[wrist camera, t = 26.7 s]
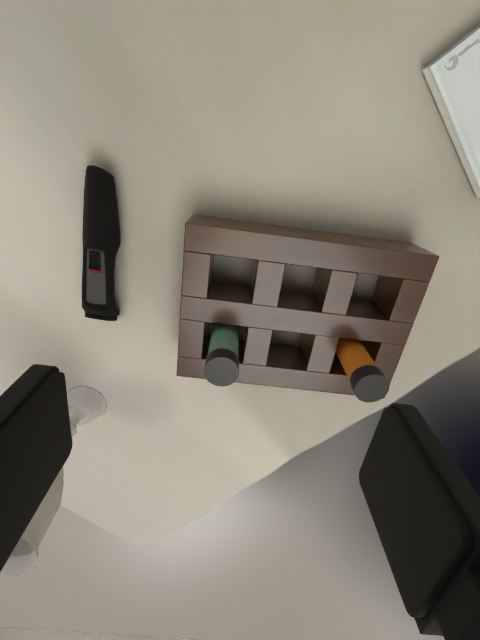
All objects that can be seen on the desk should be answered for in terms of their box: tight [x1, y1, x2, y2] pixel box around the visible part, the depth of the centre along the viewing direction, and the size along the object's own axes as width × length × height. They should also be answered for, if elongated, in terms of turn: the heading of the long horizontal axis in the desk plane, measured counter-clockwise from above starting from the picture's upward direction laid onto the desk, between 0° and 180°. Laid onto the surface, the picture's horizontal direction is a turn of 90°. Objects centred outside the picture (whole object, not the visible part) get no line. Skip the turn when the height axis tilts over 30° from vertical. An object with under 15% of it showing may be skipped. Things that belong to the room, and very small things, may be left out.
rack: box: [177, 215, 439, 398], centre depth 34 cm, size 16×22×5 cm
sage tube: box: [204, 323, 239, 386], centre depth 33 cm, size 3×3×10 cm
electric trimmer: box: [82, 166, 120, 321], centre depth 33 cm, size 4×16×3 cm, turn 170°
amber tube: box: [336, 338, 389, 402], centre depth 34 cm, size 3×3×10 cm
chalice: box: [0, 387, 106, 577], centre depth 35 cm, size 7×7×18 cm
